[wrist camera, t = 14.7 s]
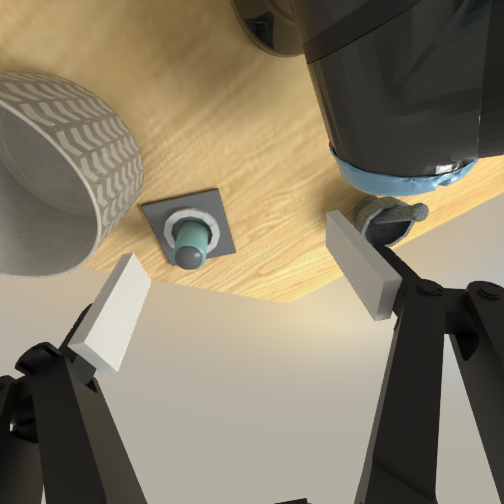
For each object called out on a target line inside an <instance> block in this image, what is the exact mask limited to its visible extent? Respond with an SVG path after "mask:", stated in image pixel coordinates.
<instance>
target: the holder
mask: <svg viewBox="0 0 504 504" xmlns="http://www.w3.org/2000/svg"><path fill="white" fill-rule="evenodd" d="M141 208H142V210H143V212H144V214H145V215H146V217H147V219H148V221H149V223H150V225H151V227H152V229H153V231H154V233H155V235H156V237H157V239H158V240H159V242H160V244H161V246H162V248H163V250H164V252H165V254H166V256H167V258H168V260H169V262H170V263H171V265H172V266H175V265H176V264H175V263H174V261H173V259H172V252H173V249H174V245H175V242H176V239H177V236H178V233H179V229H180V227H181V225H182V224H183V223H184V222H186V221H188V220H198V221H200V222H202V223H203V224H205V225H206V227H207V229H208V244H207V253H206V259H208V258H213V257H218V256H223V255H228V254H232V253H236V249H235V246H234V242H233V239H232V235H231V232H230V228H229V225H228V221H227V217H226V214H225V210H224V207H223V203H222V200H221V196H220V193H219V189H213V190H209V191H204V192H200V193H195V194H190V195H186V196H181V197H177V198H172V199H167V200H163V201H158V202H153V203H149V204H144V205H142V206H141Z"/></svg>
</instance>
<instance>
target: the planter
mask: <svg viewBox="0 0 504 504" xmlns="http://www.w3.org/2000/svg"><path fill="white" fill-rule="evenodd" d="M143 178H144V169H143V162H142V157H141V154H140V151H139V148H138V146H137V143H136V141H135V139H134V137H133V136H132V134H131V132H130V131H129V129H128V128H127V126H126V125H125V123H124V122H123V121H122V120H121V118H120V117H119V116H118V115H117V114H116V113H115V112H114V111H113V110H112V109H111V108H110V107H109V106H108V105H107V104H106V103H105V102H104V101H102V100H101V99H100V98H99V97H97V96H96V95H94V94H93V93H91V92H90V91H88V90H86V89H85V88H83V87H81V86H79V85H77V84H75V83H73V82H71V81H68V80H66V79H63V78H60V77H56V76H52V75H47V74H37V73H24V72H12V71H0V275H2V276H8V277H17V278H46V277H53V276H58V275H62V274H65V273H68V272H70V271H72V270H75V269H76V268H78V267H80V266H81V265H83V264H84V263H85V262H86V261H88V260H89V258H90V257H91V256H92V255H93V254H94V253H95V251H96V250H97V249H98V248H99V246H100V245H101V244H102V242H103V241H104V240H105V239H106V237H107V236H108V235H109V234H110V232H111V231H112V230H113V229H114V227H115V226H116V225H117V223H118V222H119V221H120V220H121V218H122V217H123V216H124V215H125V213H126V212H127V211H128V210H129V208H130V207H131V206H132V204H133V203H134V202H135V201H136V199H137V198H138V196H139V194H140V191H141V189H142V185H143Z"/></svg>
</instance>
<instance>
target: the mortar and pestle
mask: <svg viewBox="0 0 504 504" xmlns="http://www.w3.org/2000/svg"><path fill="white" fill-rule="evenodd" d="M428 212H429V209H428V207H427V205H425V204H423V203H417V204H414V205H408V204H406V203H404V202H402V201H400V200H398V199H396V198H393V197H391V196H390V197H383V198H377V197H375V196H373V197H369V198H365V199H363V200H362V201H361V202H360V203H359V204H358V205H356V208H355V210H354V213H353V216H354V219H355V228H356V229H357V231H358V232H359V233H360V234H361V235H362V236H363V237H364V238H365V239H366V240H367V241H368V242H369V243H370V244H371V245H376V244H382V245H384V246H386V247H392V246H393V245H395V244H396V243H398V242H399V241H400V240H402V239H403V238H404V237H406V236H407V235H408V233H409V231H410V230H411V228H412V226H413V225H414V223H415V221H416V222H419V221H423V220H425V219H426V217H427V216H428Z"/></svg>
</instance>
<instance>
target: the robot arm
mask: <svg viewBox="0 0 504 504" xmlns="http://www.w3.org/2000/svg"><path fill="white" fill-rule="evenodd" d="M231 2H232V6H233V9H234V11H235V14H236V16H237V19H238V21H239V23H240V25H241V26H242V28H243V30H244V31H245V33H246V34H247V35H248V37H249V38H250V39H251V40H252V41H253V42H254V43H255V44H256V45H257V46H258V47H259V48H261V49H262V50H264V51H265V52H267V53H269V54H272V55H275V56H279V57H294V56H299V55H302V54H305V58H306V61H307V67H308V70H309V73H310V77H311V80H312V83H313V87H314V90H315V94H316V97H317V100H318V104H319V107H320V111H321V114H322V117H323V121H324V124H325V128H326V131H327V134H328V138H329V147H330V151H331V153H332V155H333V156H334V157H335V159H336V161H337V164H338V167H339V170H340V172H341V175H342V176H343V178H344V179H345V180H346V181H347V182H348V183H349V184H350V185H351V186H353V187H354V188H356V189H358V190H360V191H362V192H365V193H369V194H373V195H379V196H410V195H417V194H422V193H427V192H431V191H434V190H435V189H436V188H437V185H442V186H447V185H450V184H452V183H454V182H456V181H458V180H459V179H461V178H462V177H464V176H465V175H466V174H467V173H468V172H469V171H470V170H471V169H472V168H473V166H474V164H475V163H476V162H477V161H478V159H479V158H485V157H492V156H499V155H504V0H231ZM326 247H327V249H328V250H329V252H330V253H331V255H332V256H333V258H334V259H335V261H336V262H337V264H338V266H339V267H340V269H341V270H342V272H343V273H344V275H345V276H346V278H347V279H348V281H349V282H350V284H351V285H352V287H353V289H354V290H355V292H356V293H357V295H358V296H359V298H360V300H361V301H362V302H363V304H364V306H365V307H366V309H367V310H368V312H369V313H370V315H371V316H372V318H373V320H374V321H379V320H384V319H389V318H390V317H391V314H392V311H393V312H394V313H395V314H396V316H397V317H398V318H397V321H396V324H395V327H394V334H393V339H392V343H391V348H390V352H389V357H388V361H387V366H386V370H385V374H384V378H383V383H382V387H381V392H380V396H379V400H378V405H377V409H376V414H375V418H374V423H373V427H372V431H371V436H370V440H369V445H368V449H367V454H366V458H365V462H364V467H363V471H362V475H361V479H360V482H359V486H358V489H357V493H356V498H355V502H354V504H438V502H437V500H436V494H435V485H436V468H437V451H438V450H437V449H438V434H439V417H440V399H441V381H442V365H443V347H444V334H449V337H450V340H451V344H452V347H453V350H454V353H455V356H456V360H457V363H458V366H459V369H460V373H461V376H462V379H463V382H464V385H465V389H466V392H467V395H468V398H469V402H470V405H471V408H472V411H473V414H474V418H475V421H476V424H477V427H478V430H479V434H480V437H481V440H482V443H483V446H484V450H485V453H486V456H487V459H488V463H489V465H490V469H491V472H492V476H493V479H494V481H495V485H496V488H497V492H498V495H499V498H500V501H501V504H504V288H503V287H501V286H499V285H496V284H494V283H491V282H486V281H474V282H471V283H469V285H468V286H467V288H466V289H451V288H443V287H442V286H441V285H439V284H438V283H436V282H434V281H431V280H427V279H421V278H420V277H419V276H418V275H417V274H416V273H415V272H414V271H413V270H412V269H411V268H410V267H409V266H408V265H407V264H406V263H405V262H404V261H402V260H401V259H400V258H399V257H398V256H397V255H396V254H395V253H394V252H393V251H392V250H391V249H390V248H388V247H386V246H384V245H382V244H376V245H371V244H370V243H369V242H368V241H367V240H366V239H365V238H364V237H363V236H362V235H361V234H360V233H359V232H358V231H357V229H356V228H355V227H354V226H353V225H352V224H351V223H350V222H349V221H348V220H347V219H346V218H345V217H344V216H343V215H342V214H341V212H340V211H339V210H333V211H328V212H326ZM150 285H151V280H150V278H149V277H148V275H147V273H146V272H145V270H144V269H143V267H142V265H141V264H140V262H139V261H138V259H137V258H136V256H135V254H134V253H130V254H125V255H122V257H121V258H120V260H119V262H118V263H117V265H116V266H115V268H114V270H113V271H112V273H111V275H110V276H109V278H108V280H107V281H106V283H105V284H104V286H103V288H102V289H101V291H100V293H99V294H98V296H97V298H96V299H95V301H94V303H92V304H90V305H89V306H88V307H87V308H85V310H84V311H82V313H81V315H80V316H79V318H78V319H77V321H76V322H75V324H74V325H73V328H72V329H71V330H70V332H69V333H68V335H67V336H66V338H65V340H64V341H63V343H62V344H61V346H60V347H59V349H57V348H55V347H54V346H53V345H52V344H50V343H49V342H43V343H39V344H37V345H35V346H33V347H31V348H30V349H29V350H27V351H26V352H25V353H24V354H23V355H22V356H21V357H20V358H19V360H18V361H17V363H16V365H15V369H16V370H18V371H20V372H22V373H24V374H25V376H23V377H20V378H18V379H14V378H13V377H11V376H9V375H5V376H2V377H0V504H41V499H42V492H43V484H44V491H45V498H46V504H147V502H146V499H145V497H144V494H143V492H142V489H141V487H140V484H139V482H138V480H137V477H136V475H135V472H134V470H133V467H132V465H131V462H130V460H129V458H128V455H127V452H126V450H125V448H124V445H123V443H122V440H121V438H120V436H119V433H118V430H117V428H116V425H115V423H114V421H113V418H112V416H111V413H110V411H109V408H108V406H107V403H106V401H105V398H104V396H103V393H102V391H101V389H100V387H99V384H98V381H97V380H96V378H95V377H93V375H94V373H95V371H96V369H97V370H98V371H99V372H100V373H102V374H103V375H105V374H110V373H115V372H118V370H119V367H120V364H121V362H122V359H123V356H124V354H125V351H126V349H127V346H128V343H129V341H130V338H131V335H132V332H133V330H134V327H135V325H136V322H137V319H138V317H139V314H140V311H141V309H142V306H143V303H144V301H145V298H146V295H147V293H148V290H149V287H150ZM10 423H11V424H13V430H12V431H10ZM275 504H310V503H308V502H307V498H303V499H298V500H292V501H287V502H281V503H275Z"/></svg>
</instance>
